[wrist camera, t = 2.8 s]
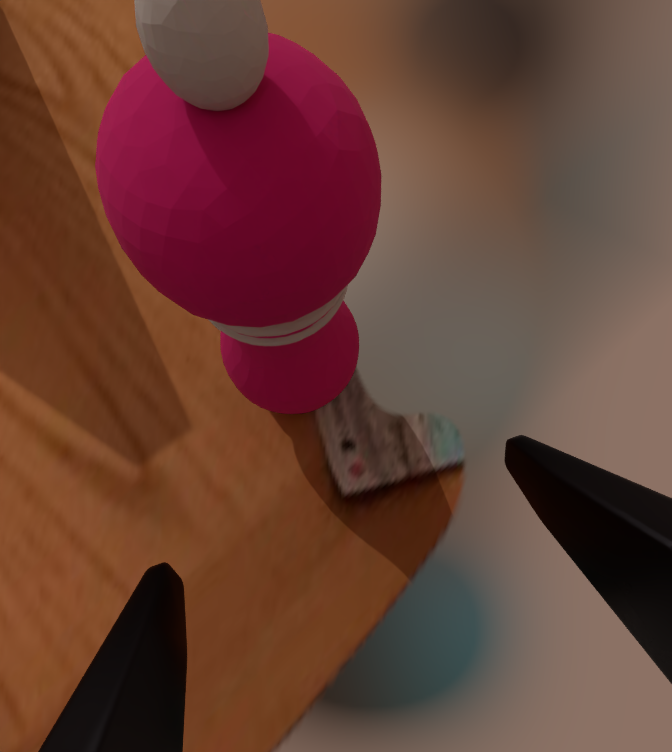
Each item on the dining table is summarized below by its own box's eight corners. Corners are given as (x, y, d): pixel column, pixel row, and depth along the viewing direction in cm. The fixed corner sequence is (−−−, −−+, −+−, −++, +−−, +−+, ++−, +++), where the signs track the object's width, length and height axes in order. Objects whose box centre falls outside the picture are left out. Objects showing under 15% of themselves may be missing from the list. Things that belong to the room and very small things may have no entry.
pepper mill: (218, 365, 24) (-272, -74, 4) (299, 293, 25) (215, -295, 5) (294, 445, 23) (125, 368, 3) (375, 367, 24) (602, -29, 4)
